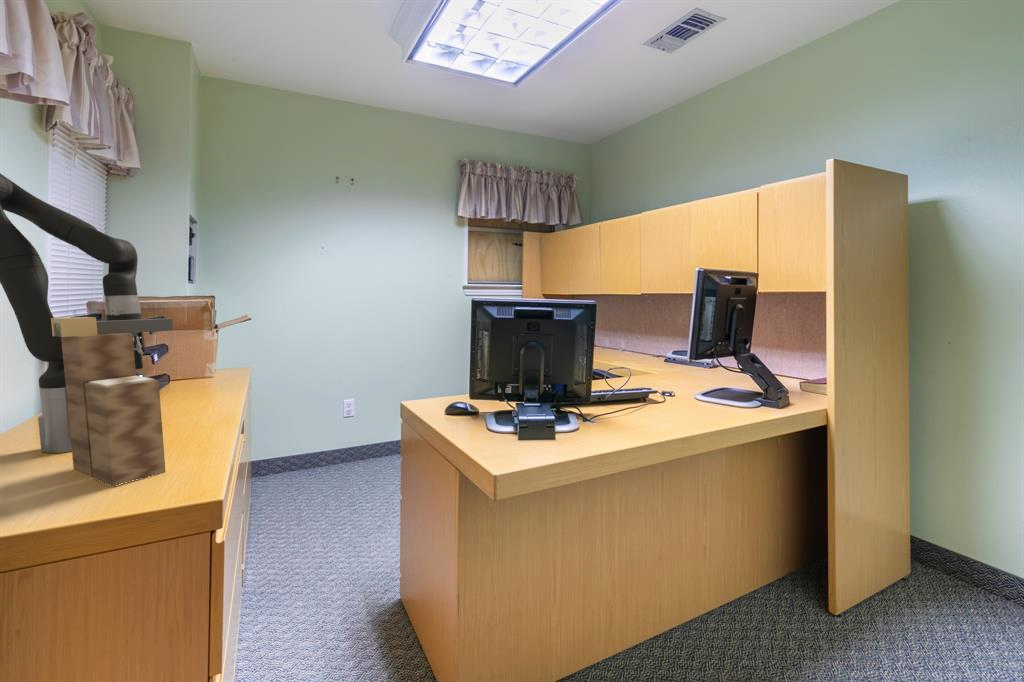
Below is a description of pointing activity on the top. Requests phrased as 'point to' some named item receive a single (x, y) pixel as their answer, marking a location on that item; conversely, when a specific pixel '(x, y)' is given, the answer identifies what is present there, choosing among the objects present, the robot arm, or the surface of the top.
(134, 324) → the bar
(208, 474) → the top surface
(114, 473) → the brown stepped block
